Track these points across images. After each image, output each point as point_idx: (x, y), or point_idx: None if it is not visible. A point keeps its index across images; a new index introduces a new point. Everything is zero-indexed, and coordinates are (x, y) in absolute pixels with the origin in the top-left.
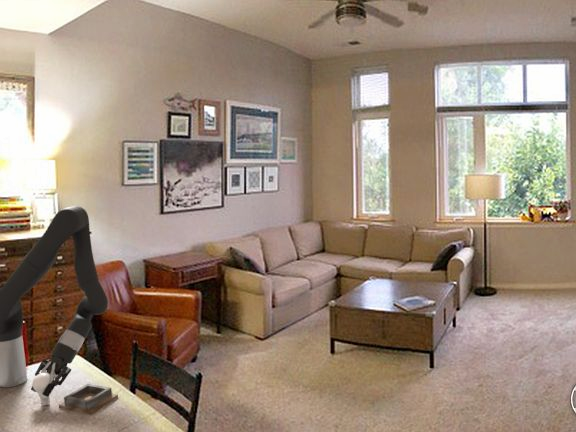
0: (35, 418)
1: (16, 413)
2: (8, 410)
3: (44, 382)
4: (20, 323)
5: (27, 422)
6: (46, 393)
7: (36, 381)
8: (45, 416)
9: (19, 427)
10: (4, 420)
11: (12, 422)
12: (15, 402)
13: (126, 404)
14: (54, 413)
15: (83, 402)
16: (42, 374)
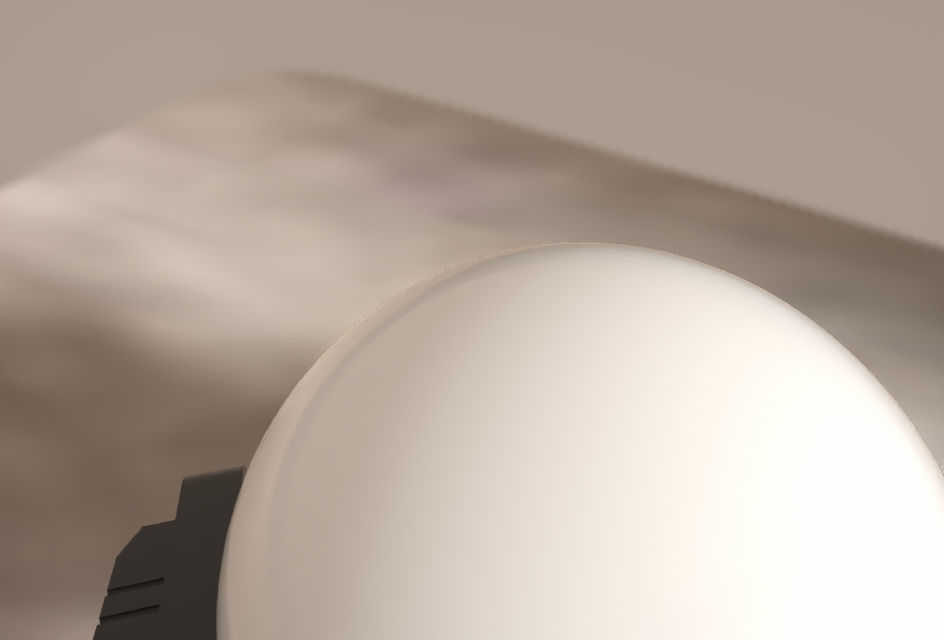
0: (141, 353)
1: (530, 244)
2: (695, 212)
3: (241, 515)
4: None
5: (129, 244)
6: (142, 545)
7: (443, 270)
8: (53, 478)
9: (91, 143)
10: (450, 106)
11: (313, 139)
12: (885, 339)
13: None
14: (3, 631)
15: None
16: (601, 512)
